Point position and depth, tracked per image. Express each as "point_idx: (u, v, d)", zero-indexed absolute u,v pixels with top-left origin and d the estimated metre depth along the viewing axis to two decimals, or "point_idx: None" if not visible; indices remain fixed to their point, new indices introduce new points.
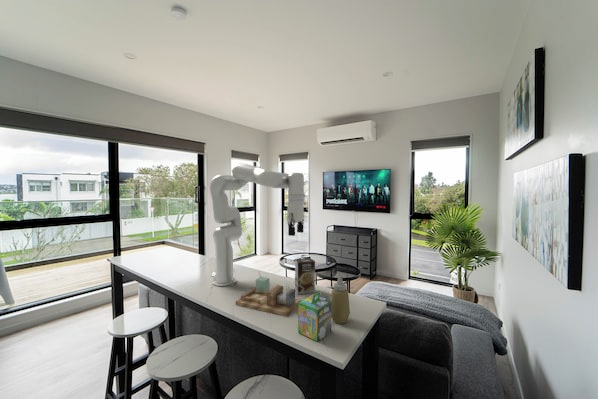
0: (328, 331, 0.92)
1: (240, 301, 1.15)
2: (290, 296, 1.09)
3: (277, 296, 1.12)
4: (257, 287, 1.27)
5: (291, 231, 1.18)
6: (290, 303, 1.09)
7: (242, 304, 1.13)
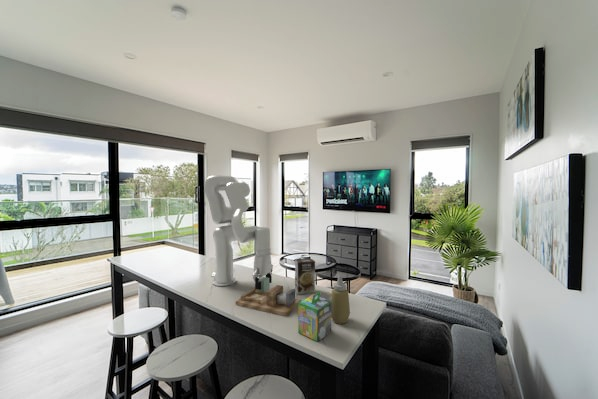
0: (328, 331, 0.92)
1: (240, 301, 1.15)
2: (290, 296, 1.09)
3: (277, 296, 1.12)
4: None
5: (257, 285, 1.23)
6: (290, 303, 1.09)
7: (242, 304, 1.13)
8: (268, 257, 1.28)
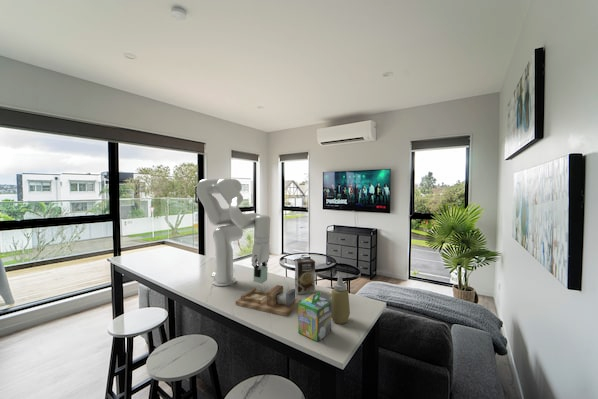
0: (328, 331, 0.92)
1: (240, 301, 1.15)
2: (290, 296, 1.09)
3: (277, 296, 1.12)
4: None
5: (256, 273, 1.26)
6: (290, 303, 1.09)
7: (242, 304, 1.13)
8: (267, 245, 1.28)
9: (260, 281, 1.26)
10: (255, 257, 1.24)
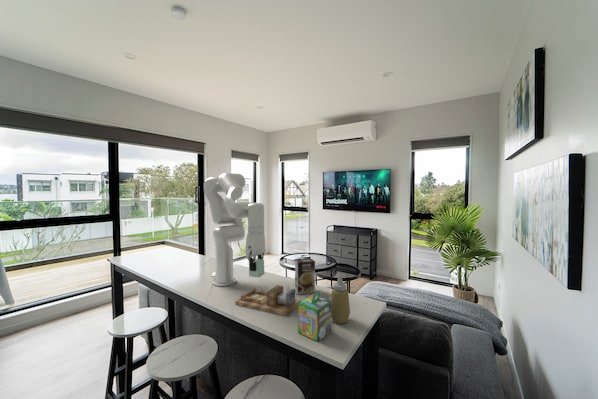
0: (328, 331, 0.92)
1: (240, 301, 1.15)
2: (290, 296, 1.09)
3: (277, 296, 1.12)
4: None
5: (252, 266, 1.14)
6: (290, 303, 1.09)
7: (242, 304, 1.13)
8: (262, 235, 1.18)
9: (256, 275, 1.15)
10: (249, 249, 1.13)
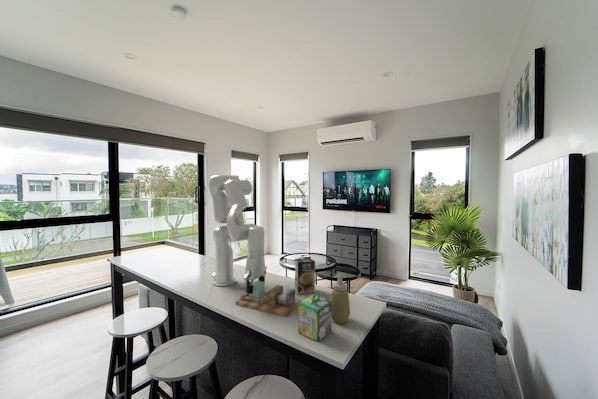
0: (328, 331, 0.92)
1: (240, 301, 1.15)
2: (290, 296, 1.09)
3: (277, 296, 1.12)
4: None
5: (249, 289, 1.13)
6: (290, 303, 1.09)
7: (242, 304, 1.13)
8: (261, 259, 1.18)
9: (256, 298, 1.15)
10: None
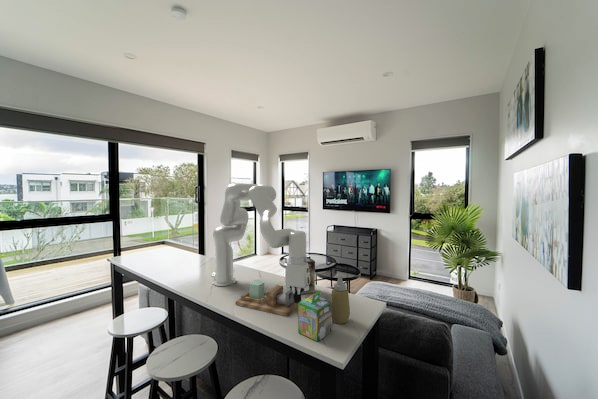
0: (328, 331, 0.92)
1: (240, 301, 1.15)
2: (289, 296, 1.09)
3: (276, 296, 1.12)
4: (251, 292, 1.17)
5: None
6: (289, 303, 1.09)
7: (242, 304, 1.13)
8: (297, 268, 1.07)
9: (256, 298, 1.15)
10: None
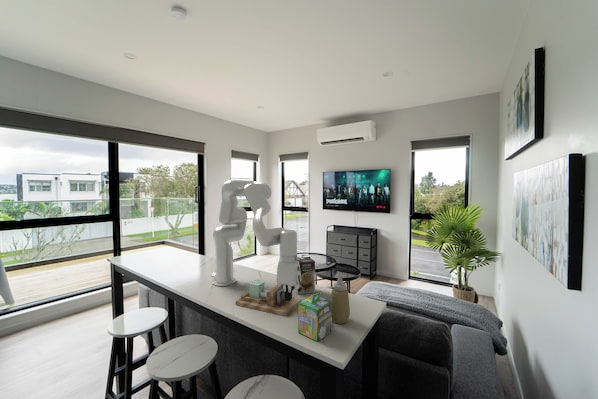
0: (328, 331, 0.92)
1: (240, 301, 1.15)
2: (281, 294, 1.11)
3: None
4: (251, 292, 1.17)
5: None
6: (281, 301, 1.11)
7: (242, 304, 1.13)
8: (288, 266, 1.08)
9: (256, 298, 1.15)
10: None
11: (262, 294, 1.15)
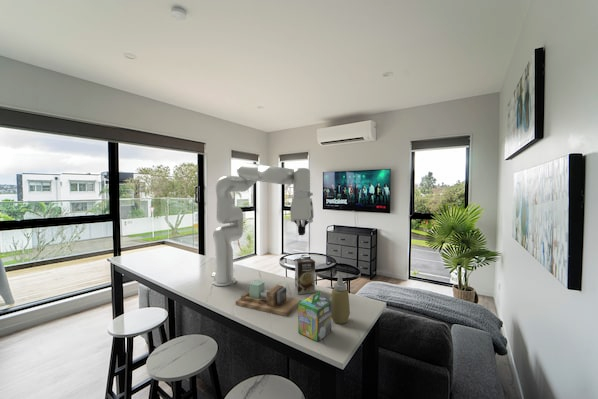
0: (328, 331, 0.92)
1: (240, 301, 1.15)
2: (281, 294, 1.11)
3: None
4: (251, 292, 1.17)
5: None
6: (281, 301, 1.11)
7: (242, 304, 1.13)
8: (301, 201, 1.15)
9: (256, 298, 1.15)
10: None
11: (262, 294, 1.15)
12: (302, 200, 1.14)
